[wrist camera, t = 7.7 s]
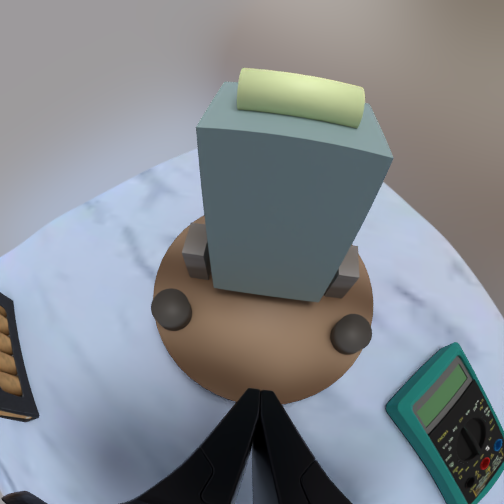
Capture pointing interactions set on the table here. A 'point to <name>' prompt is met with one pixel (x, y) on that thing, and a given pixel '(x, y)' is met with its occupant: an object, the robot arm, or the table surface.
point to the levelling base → (258, 326)
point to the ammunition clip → (13, 370)
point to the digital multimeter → (451, 426)
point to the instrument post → (286, 180)
